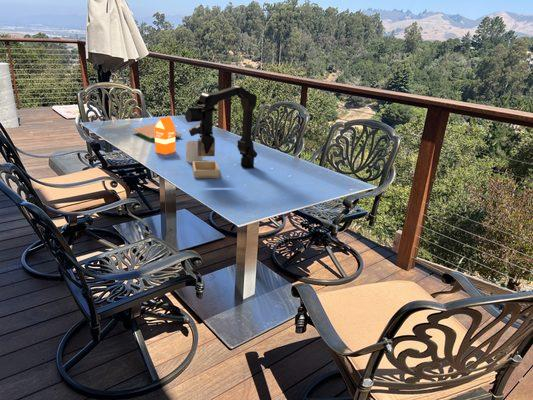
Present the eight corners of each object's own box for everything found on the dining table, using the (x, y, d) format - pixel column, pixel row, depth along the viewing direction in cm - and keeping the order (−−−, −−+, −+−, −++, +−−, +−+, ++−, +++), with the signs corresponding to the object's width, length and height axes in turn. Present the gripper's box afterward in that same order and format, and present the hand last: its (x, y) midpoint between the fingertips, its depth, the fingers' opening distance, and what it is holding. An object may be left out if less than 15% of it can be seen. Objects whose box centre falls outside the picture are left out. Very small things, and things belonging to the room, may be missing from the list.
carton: (215, 168, 206) (216, 160, 204) (219, 181, 189) (220, 172, 187) (192, 168, 203) (192, 160, 201) (194, 181, 186) (194, 172, 184)
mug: (189, 165, 206) (190, 145, 202) (183, 161, 213) (183, 141, 209) (210, 163, 213) (210, 143, 208) (203, 159, 219) (204, 139, 215)
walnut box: (213, 153, 195) (213, 139, 192) (214, 156, 190) (215, 141, 188) (197, 153, 193) (197, 138, 190) (198, 156, 188) (198, 141, 186)
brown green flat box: (153, 144, 240) (152, 131, 237) (129, 132, 262) (128, 120, 259) (185, 140, 255) (185, 128, 252) (160, 129, 277) (160, 118, 273)
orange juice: (155, 151, 224) (154, 117, 217) (165, 148, 232) (164, 115, 224) (165, 154, 221) (164, 119, 214) (175, 151, 229) (175, 117, 221)
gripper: (188, 116, 192) (188, 146, 198) (190, 124, 175) (190, 157, 181) (211, 117, 194) (210, 147, 200) (215, 125, 178) (214, 157, 184)
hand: (206, 152), depth 191 cm, fingers closed on walnut box, 5 cm apart
